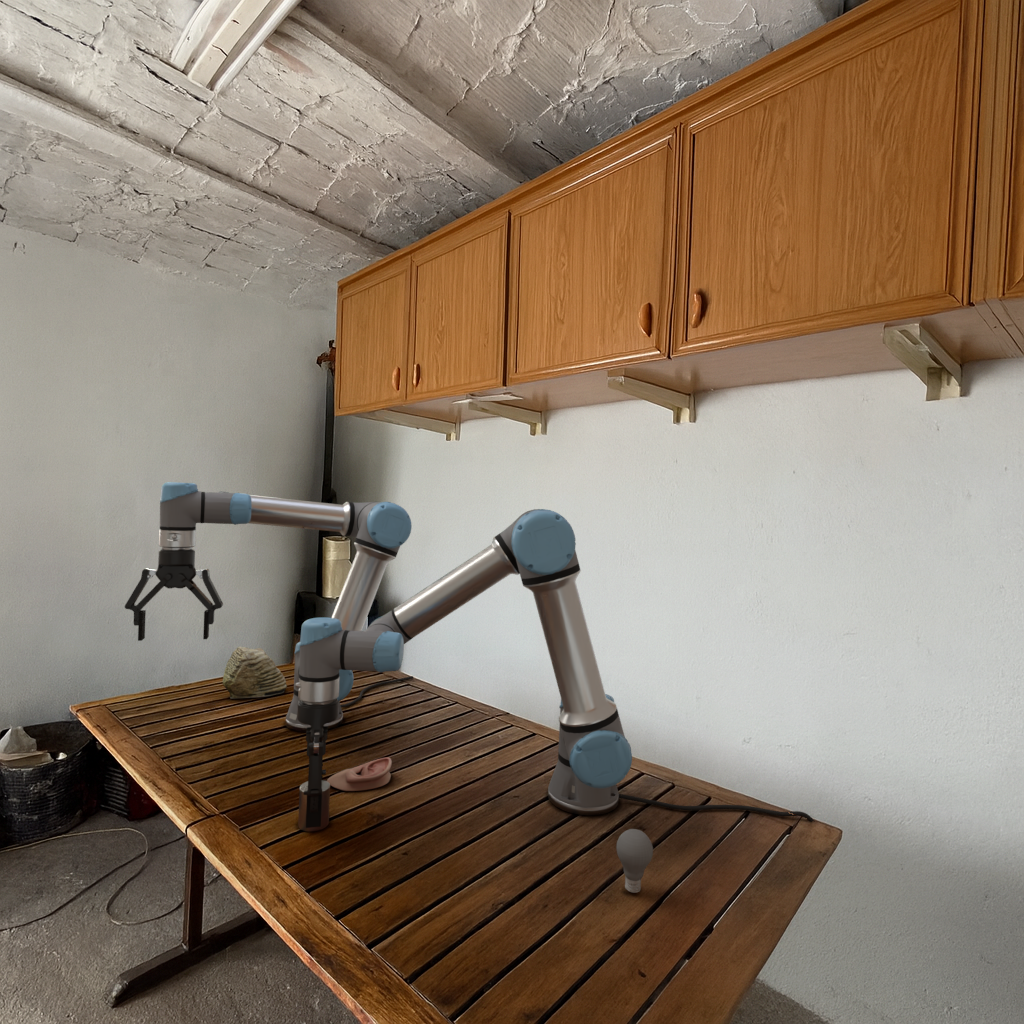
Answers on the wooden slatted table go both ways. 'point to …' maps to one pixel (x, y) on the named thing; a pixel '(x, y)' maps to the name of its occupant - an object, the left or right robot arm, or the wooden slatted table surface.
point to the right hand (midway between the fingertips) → (313, 817)
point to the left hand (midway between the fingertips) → (174, 638)
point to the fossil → (252, 674)
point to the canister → (323, 808)
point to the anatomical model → (363, 776)
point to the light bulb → (634, 857)
